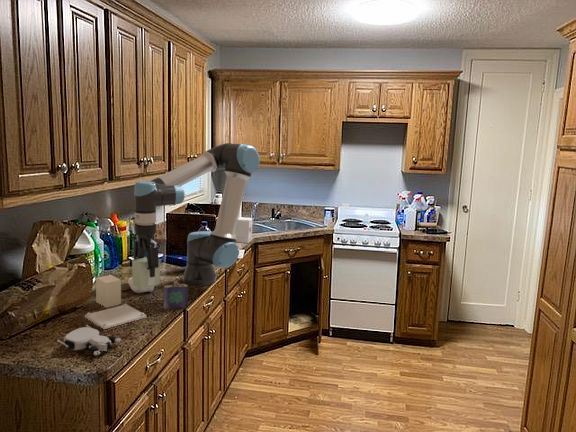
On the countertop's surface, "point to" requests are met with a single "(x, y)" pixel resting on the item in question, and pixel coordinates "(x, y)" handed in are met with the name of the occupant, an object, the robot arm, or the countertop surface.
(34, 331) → the countertop surface
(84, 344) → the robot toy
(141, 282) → the sage brick
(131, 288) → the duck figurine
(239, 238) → the supplement box
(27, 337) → the countertop surface
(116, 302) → the cream brick
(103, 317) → the baseplate
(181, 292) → the flask
